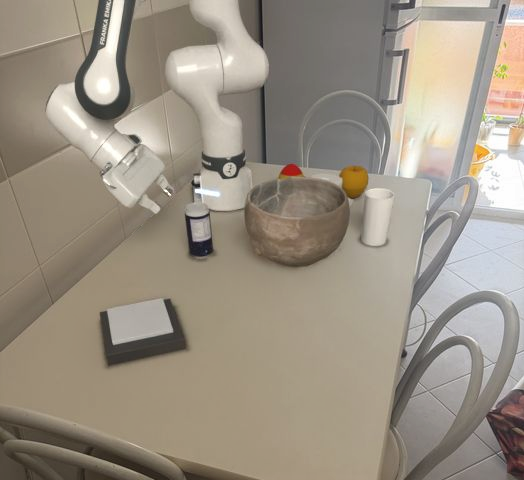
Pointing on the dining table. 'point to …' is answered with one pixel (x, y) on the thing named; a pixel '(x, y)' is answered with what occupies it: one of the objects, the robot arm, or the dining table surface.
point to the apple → (354, 180)
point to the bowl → (296, 219)
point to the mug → (376, 216)
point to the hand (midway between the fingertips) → (165, 201)
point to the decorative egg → (290, 171)
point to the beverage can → (198, 230)
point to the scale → (140, 331)
